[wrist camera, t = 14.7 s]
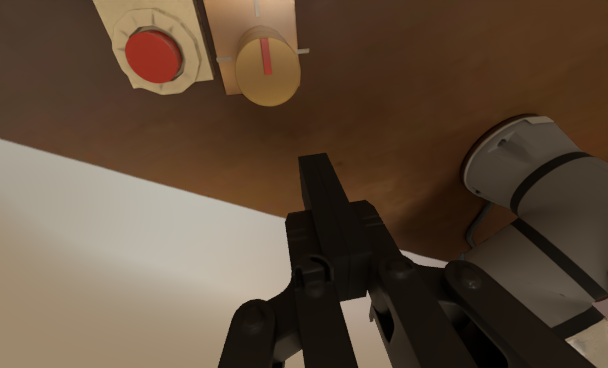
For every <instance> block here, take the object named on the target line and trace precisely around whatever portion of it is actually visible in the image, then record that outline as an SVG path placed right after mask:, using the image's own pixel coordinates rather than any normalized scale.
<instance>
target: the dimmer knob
mask: <svg viewBox="0 0 608 368" xmlns="http://www.w3.org/2000/svg"><path fill="white" fill-rule="evenodd" d="M300 76H301V70H300V64H299V61H298V58H297V56H296V54H295V53H294V51H293V50H292V49H291V47H290V46H289V45H288V43H287V42H286V41H285V40H284V38H283V37H282V36H281V35H280V34H279V33H278V32H277V31H276V30H274V29H273V28H270V27H267V26H256V27H253V28H251V29H249V30H248V31H246V32H245V33H244V35H243V36H242V37H241V39H240V42H239V45H238V50H237V56H236V62H235V78H236V81H237V84H238V86H239V88H240V90H241V91H242V93H243V94H244V95H245V96H246V97H247V98H248V99H249V100H251V101H252V102H254V103H256V104H259V105H262V106H276V105H280V104H282V103H284V102H286V101H287V100H288V99H290V98H291V97H292V96H293V94H294V93H295V92H296V90H297V88H298V85H299V82H300Z"/></svg>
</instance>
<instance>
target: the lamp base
mask: <svg viewBox="0 0 608 368" xmlns="http://www.w3.org/2000/svg"><path fill="white" fill-rule="evenodd" d="M93 2H94V4H95V6H96V8H97V10H98V13H99V15H100V17H101V19H102V21H103V23H104V26H105V28H106V30H107V32H108V34H109V36H110V38H111V41H112V50H113V52H114V54H115V56H116V58H117V60H118V62H119V64H120V67H121V69H122V70H123V71H124V72H125V73H126V74H127V75H128V77H129V80H130V82H131V84H132V86H133V88H145V89H147V90H150V91H153V92H156V93H158V94H161V95H166V94H175V93H181V92H183V91H184V90H185V89H187V88H188V87H189V86H190V85H191V84H193V83H194V82H197V81H206V80H214V77H215V70H214V66H213V62H212V58H211V55H210V51H209V47H208V43H207V39H206V35H205V31H204V28H203V24H202V20H201V16H200V12H199V8H198V4H197V1H196V0H93ZM144 30H157V31H160V32H163V33H165V34H166V35H168V36H169V37H170V38H171V39H172V40H173V41H174V42H175V43H176V44H177V46H178V47H179V49H180V52H181V55H182V66H181V68H180V70H179V72H178V73H177V74H176V75H175V77H174V78H173V79H172V80H170V81H168V82H166V83H161V84H158V83H152V82H149V81H146V80H144V79H142V78H141V77H140V76H138V75H137V74H136V73H135V72H134V71H133V70H132V68H131V67H130V65H129V64H128V62H127V59H126V55H125V46H126V43H127V41H128V39H129V38H130V37H131V36H132V35H134V34H136V33H139V32H142V31H144Z"/></svg>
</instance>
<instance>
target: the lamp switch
mask: <svg viewBox="0 0 608 368" xmlns="http://www.w3.org/2000/svg"><path fill="white" fill-rule="evenodd" d="M125 55H126V59H127V62H128V64H129V65H130V67H131V68H132V70H133V71H134V72H135V73H136V74H137V75H138V76H140V77H141V78H142V79H144V80H146V81H149V82H152V83H158V84H161V83H166V82H168V81H170V80H172V79H173V78H174V77H175V75H176V74H177V73H178V72H179V70H180V68H181V66H182V55H181V52H180V49H179V47H178V46H177V44H176V43H175V42H174V41H173V40H172V39H171V38H170V37H169V36H168V35H166V34H165V33H163V32H160V31H157V30H144V31H142V32H139V33H136V34H134V35H132V36H131V37H130V38H129V39H128V41H127V43H126V46H125Z"/></svg>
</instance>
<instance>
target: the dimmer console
mask: <svg viewBox="0 0 608 368" xmlns="http://www.w3.org/2000/svg"><path fill="white" fill-rule="evenodd" d="M203 2H204V6H205V10H206V14H207V18H208V22H209V26H210V30H211V34H212V38H213V42H214V47H215V51H216V55H217V58H216V60H217V62H218V63H219V67H220V71H221V75H222V79H223V83H224V87H225V91H226V95H233V94H242V91H241V90H240V88H239V86H238V84H237V81H236V78H235V62H236V56H237V50H238V45H239V42H240V39H241V37H242V36H243V35H244V33H245V32H246V31H248V30H249V29H251V28H253V27H256V26H267V27H270V28H273V29H274V30H276V31H277V32H278V33H279V34H280V35H281V36H282V37H283V38H284V40H285V41H286V42H287V43H288V45H289V46H290V47H291V49H292V50H293V51H294V53H295V54H296V56H297V58H298V54H301V53H309V49H299V50H298V45H297V30H296V15H295V0H203ZM298 61H299V60H298ZM298 87H300V82H299V85H298Z"/></svg>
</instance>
